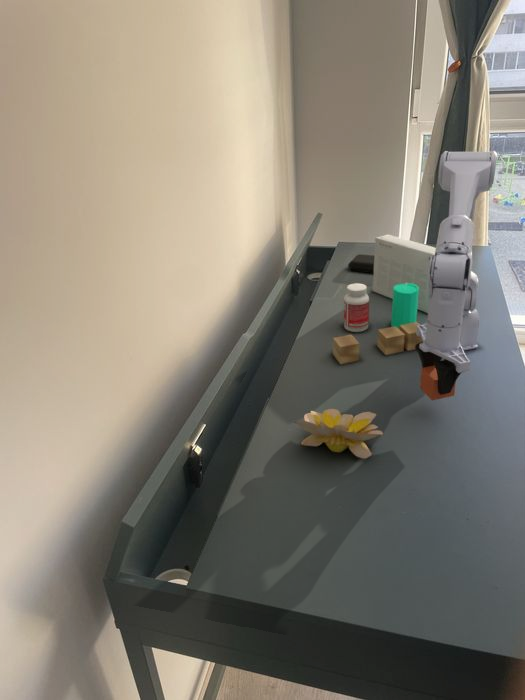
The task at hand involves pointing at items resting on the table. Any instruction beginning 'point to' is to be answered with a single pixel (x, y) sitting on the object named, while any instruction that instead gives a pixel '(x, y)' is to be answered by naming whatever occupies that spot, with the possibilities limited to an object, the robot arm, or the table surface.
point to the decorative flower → (340, 431)
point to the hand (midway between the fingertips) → (437, 385)
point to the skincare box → (402, 266)
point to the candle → (404, 304)
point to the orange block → (432, 384)
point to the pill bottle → (356, 308)
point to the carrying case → (362, 263)
